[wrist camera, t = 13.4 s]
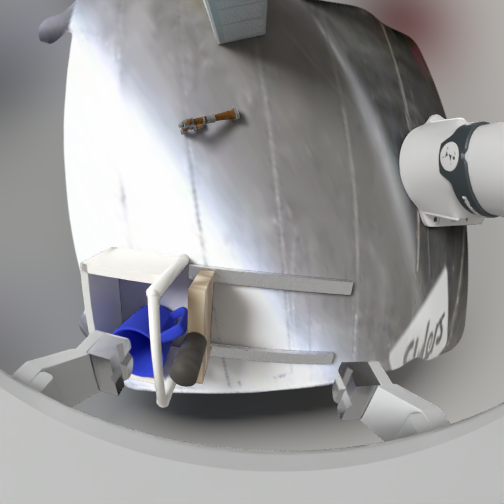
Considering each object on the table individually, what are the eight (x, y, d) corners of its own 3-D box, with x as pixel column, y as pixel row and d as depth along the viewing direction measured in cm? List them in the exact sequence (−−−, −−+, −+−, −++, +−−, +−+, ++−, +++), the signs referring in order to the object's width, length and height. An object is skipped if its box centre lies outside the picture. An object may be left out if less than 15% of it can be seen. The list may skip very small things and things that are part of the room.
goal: (189, 254, 39) (158, 290, 25) (187, 355, 43) (167, 411, 30) (111, 245, 38) (59, 272, 25) (119, 341, 43) (84, 387, 29)
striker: (217, 271, 38) (197, 320, 24) (212, 355, 41) (197, 420, 27) (196, 269, 38) (166, 315, 24) (194, 353, 41) (173, 415, 27)
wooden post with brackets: (173, 128, 33) (177, 117, 29) (226, 116, 36) (236, 105, 32) (176, 140, 34) (181, 129, 30) (229, 127, 36) (240, 116, 32)
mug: (211, 320, 41) (200, 357, 31) (154, 347, 43) (134, 383, 33) (181, 277, 39) (160, 305, 30) (126, 309, 41) (98, 339, 31)
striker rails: (351, 280, 39) (353, 282, 38) (329, 361, 43) (331, 364, 42) (190, 263, 39) (188, 265, 38) (188, 349, 42) (187, 352, 41)
